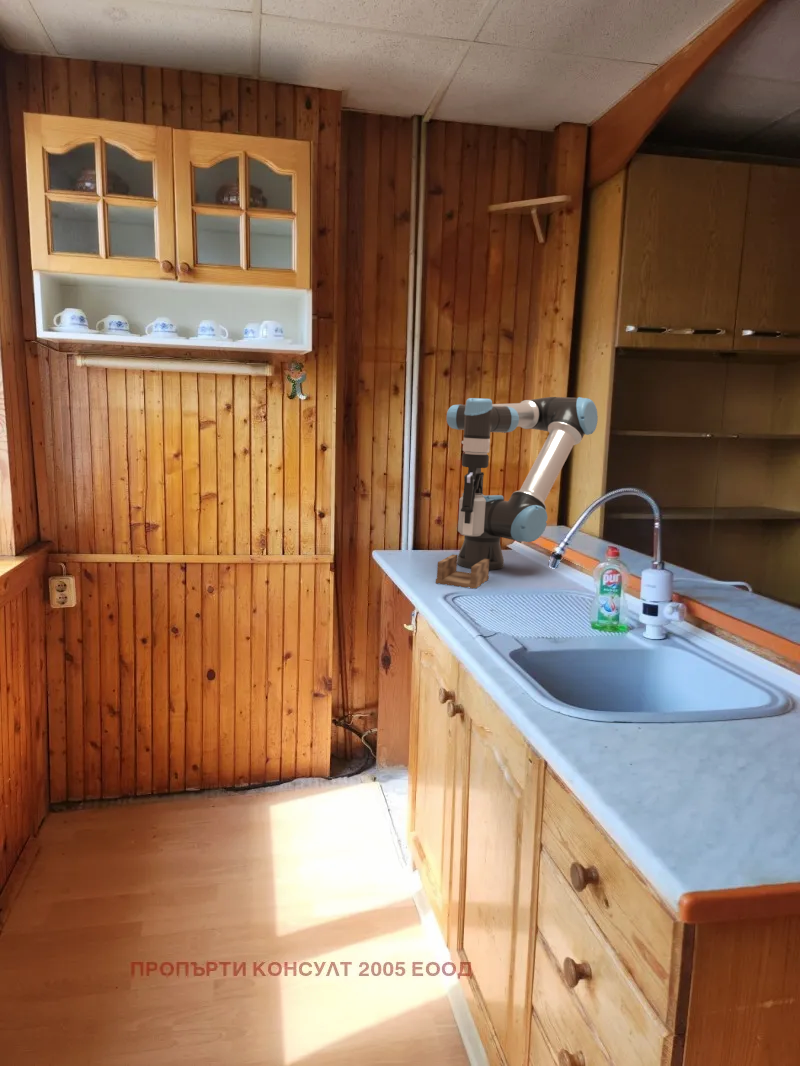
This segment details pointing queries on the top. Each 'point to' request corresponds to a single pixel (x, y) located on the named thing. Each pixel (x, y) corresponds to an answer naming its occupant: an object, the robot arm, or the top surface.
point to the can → (478, 515)
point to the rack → (462, 573)
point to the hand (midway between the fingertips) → (470, 532)
